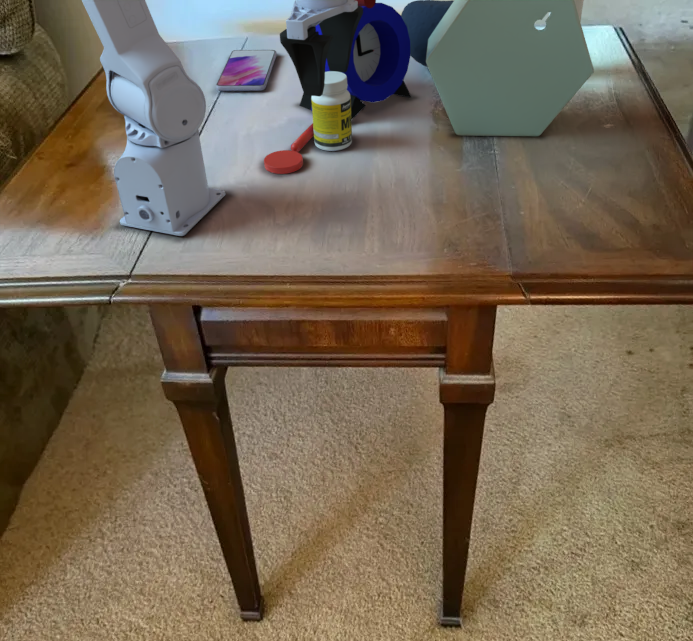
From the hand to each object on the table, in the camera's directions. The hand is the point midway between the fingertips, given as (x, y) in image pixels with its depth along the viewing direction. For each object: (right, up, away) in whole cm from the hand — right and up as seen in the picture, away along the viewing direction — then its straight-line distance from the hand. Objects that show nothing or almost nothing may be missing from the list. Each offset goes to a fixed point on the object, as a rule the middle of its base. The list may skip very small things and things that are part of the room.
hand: (326, 82), depth 90 cm
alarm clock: (+3, +2, +15) cm, 16 cm away
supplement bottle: (+1, -6, +5) cm, 8 cm away
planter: (+22, -3, +8) cm, 24 cm away
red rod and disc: (-3, -7, +4) cm, 9 cm away
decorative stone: (+16, +10, +24) cm, 30 cm away
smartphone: (-12, +9, +25) cm, 29 cm away
